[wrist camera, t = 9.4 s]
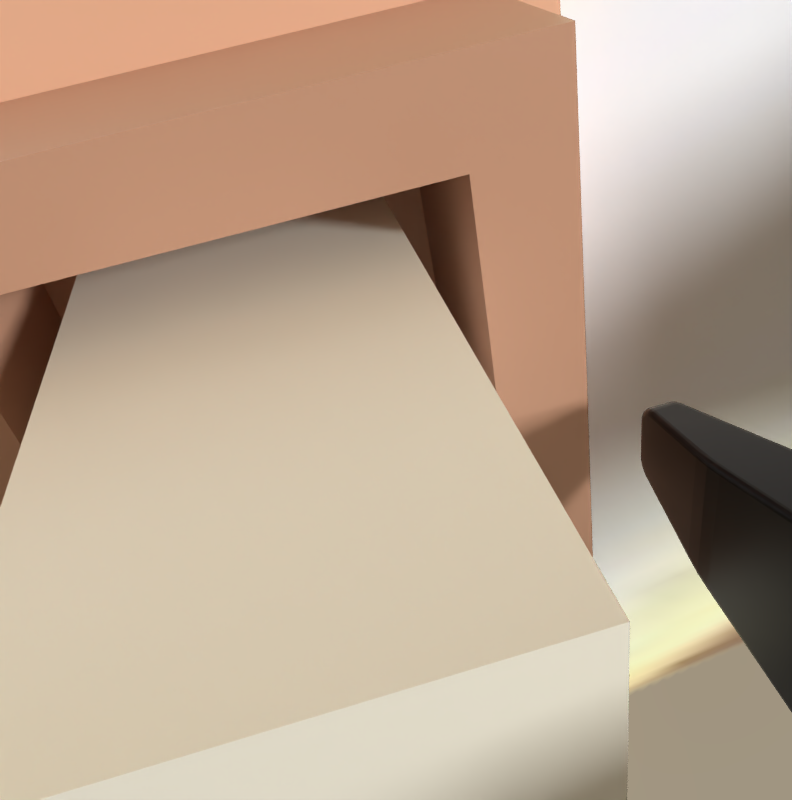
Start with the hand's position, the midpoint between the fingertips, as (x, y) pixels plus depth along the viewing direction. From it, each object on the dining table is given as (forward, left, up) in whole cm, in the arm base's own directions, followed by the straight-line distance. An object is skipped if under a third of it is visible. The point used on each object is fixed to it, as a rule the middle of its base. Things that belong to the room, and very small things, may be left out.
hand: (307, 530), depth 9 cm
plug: (0, 0, -4) cm, 4 cm away
